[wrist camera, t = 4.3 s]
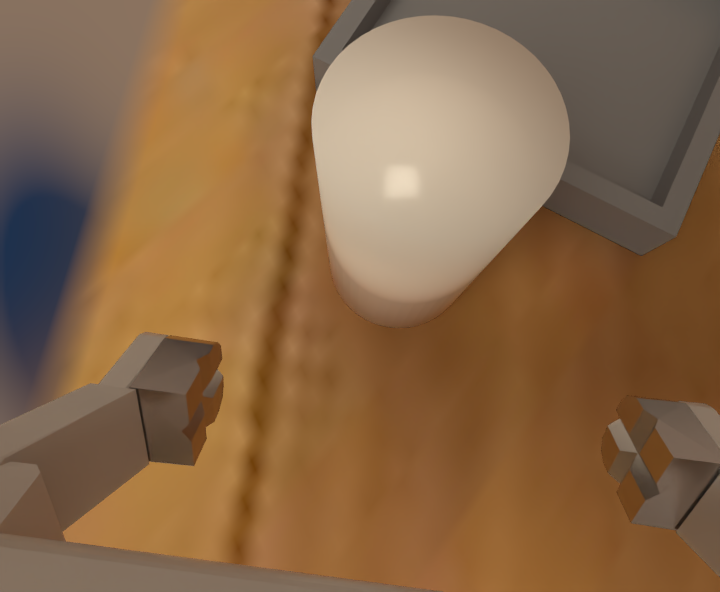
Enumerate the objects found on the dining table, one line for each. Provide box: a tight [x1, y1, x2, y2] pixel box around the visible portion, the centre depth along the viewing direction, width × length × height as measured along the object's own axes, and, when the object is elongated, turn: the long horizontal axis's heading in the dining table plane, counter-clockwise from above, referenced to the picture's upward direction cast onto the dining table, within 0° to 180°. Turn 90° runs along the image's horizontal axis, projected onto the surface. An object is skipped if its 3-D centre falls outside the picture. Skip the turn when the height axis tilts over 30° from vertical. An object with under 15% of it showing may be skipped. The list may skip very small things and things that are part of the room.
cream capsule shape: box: [311, 15, 570, 328], centre depth 17 cm, size 6×6×11 cm
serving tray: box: [313, 0, 720, 256], centre depth 24 cm, size 18×16×2 cm
